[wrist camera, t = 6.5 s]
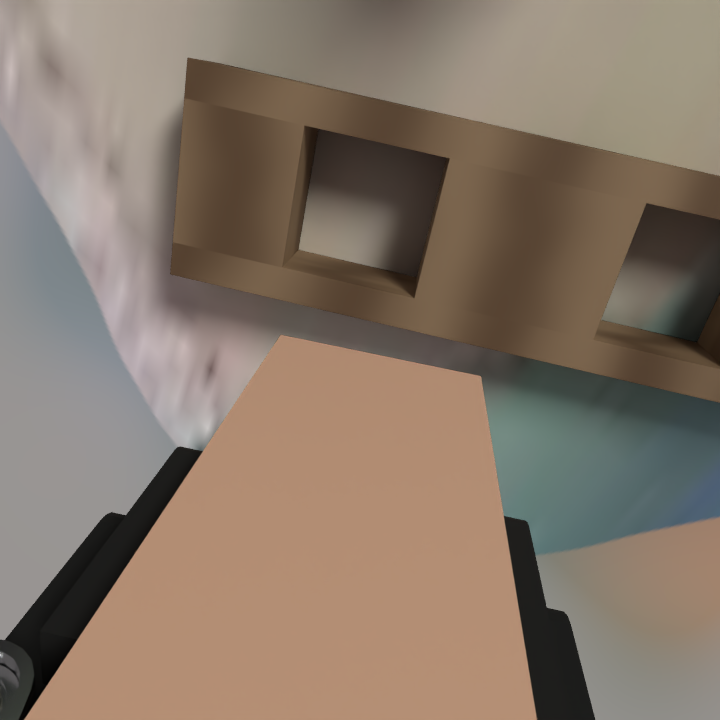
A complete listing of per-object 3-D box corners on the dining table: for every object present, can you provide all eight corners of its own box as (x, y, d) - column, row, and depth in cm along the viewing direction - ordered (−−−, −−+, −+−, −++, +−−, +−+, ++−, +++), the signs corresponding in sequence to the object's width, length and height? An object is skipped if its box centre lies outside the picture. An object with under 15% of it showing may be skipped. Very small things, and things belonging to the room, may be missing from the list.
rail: (882, 212, 27) (943, 228, 23) (783, 392, 30) (824, 427, 27) (216, 62, 27) (187, 57, 24) (197, 256, 31) (170, 274, 28)
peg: (480, 375, 13) (713, 1803, 2) (435, 536, 15) (434, 1769, 4) (280, 334, 13) (-469, 1457, 2) (259, 498, 15) (-222, 1578, 4)
